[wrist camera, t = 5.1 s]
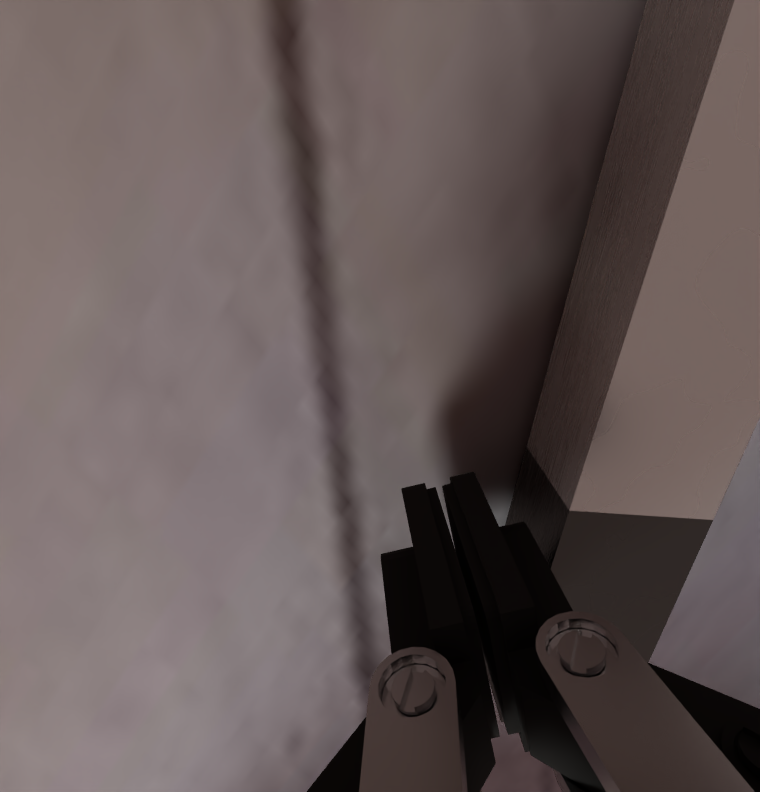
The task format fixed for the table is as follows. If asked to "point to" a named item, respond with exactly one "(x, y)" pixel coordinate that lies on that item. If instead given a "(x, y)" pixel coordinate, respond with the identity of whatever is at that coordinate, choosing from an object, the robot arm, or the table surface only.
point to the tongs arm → (656, 327)
